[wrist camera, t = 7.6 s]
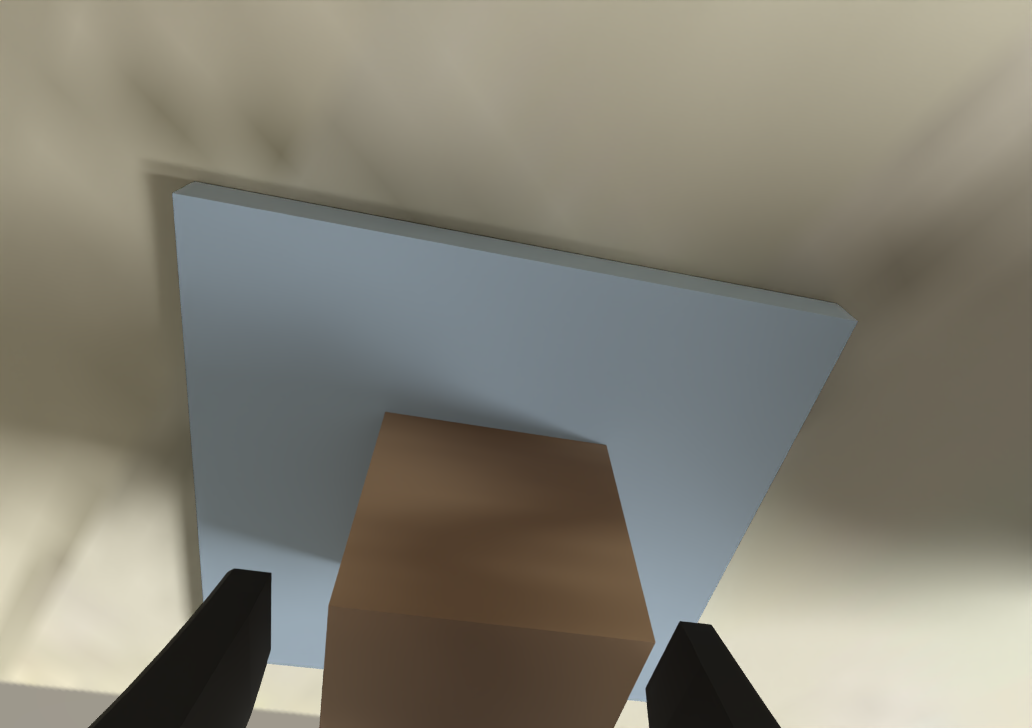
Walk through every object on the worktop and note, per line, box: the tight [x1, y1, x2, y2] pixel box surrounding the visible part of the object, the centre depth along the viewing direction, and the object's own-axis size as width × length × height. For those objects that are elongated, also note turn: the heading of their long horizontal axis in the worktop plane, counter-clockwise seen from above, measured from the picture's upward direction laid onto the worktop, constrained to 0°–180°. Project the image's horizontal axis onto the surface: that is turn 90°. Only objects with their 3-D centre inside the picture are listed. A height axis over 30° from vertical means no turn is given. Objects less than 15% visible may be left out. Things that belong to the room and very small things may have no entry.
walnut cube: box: [319, 412, 656, 728], centre depth 11 cm, size 4×4×4 cm
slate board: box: [172, 181, 858, 702], centre depth 14 cm, size 12×12×1 cm
